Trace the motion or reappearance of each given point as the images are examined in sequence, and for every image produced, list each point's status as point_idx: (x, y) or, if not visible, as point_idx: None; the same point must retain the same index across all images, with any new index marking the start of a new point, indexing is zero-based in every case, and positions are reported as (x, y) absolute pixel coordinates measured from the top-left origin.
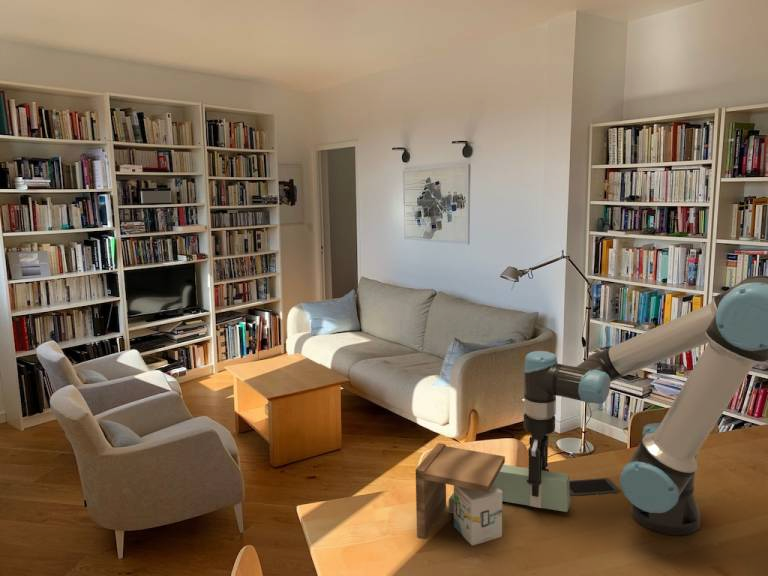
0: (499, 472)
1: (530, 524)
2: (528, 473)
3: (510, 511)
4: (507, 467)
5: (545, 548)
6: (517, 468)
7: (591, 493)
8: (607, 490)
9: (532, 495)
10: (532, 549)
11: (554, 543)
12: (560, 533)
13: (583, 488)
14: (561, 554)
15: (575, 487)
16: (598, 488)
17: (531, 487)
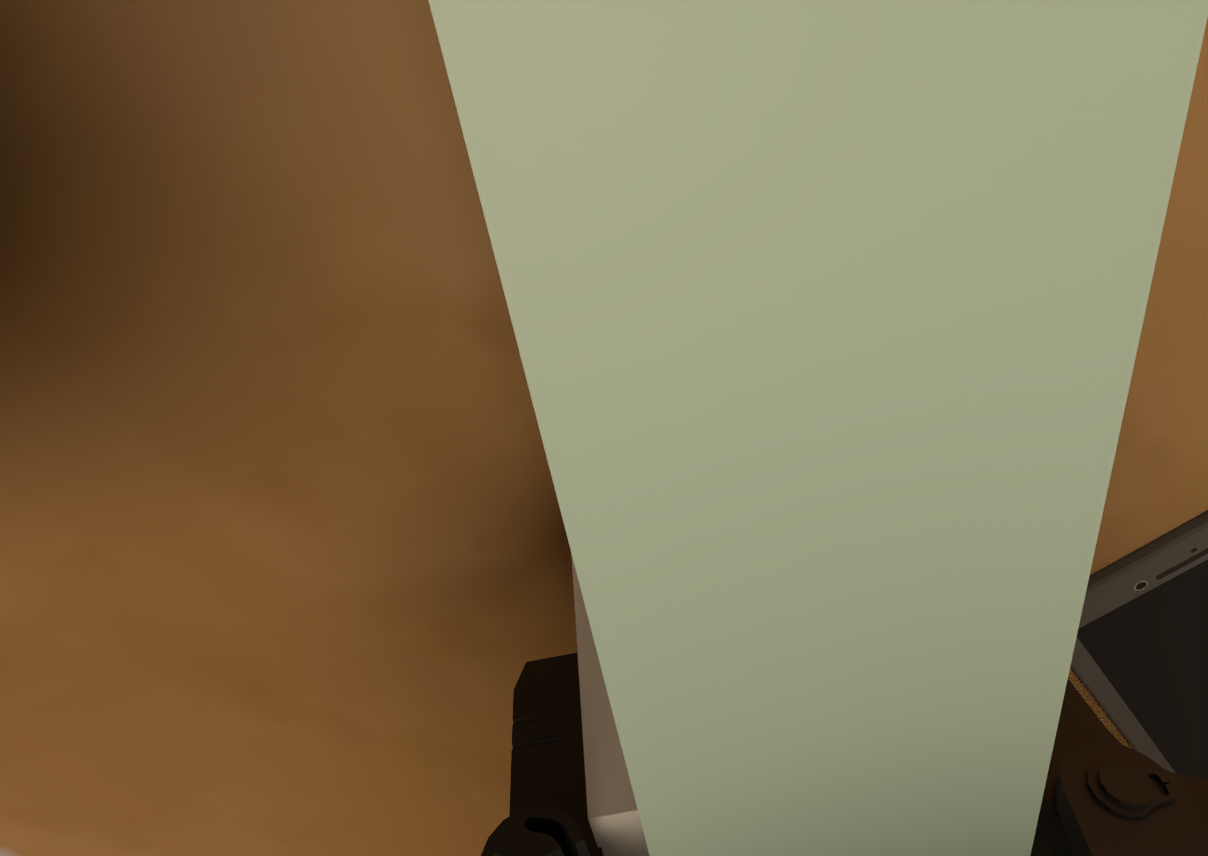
0: (456, 104)
1: (349, 540)
2: (769, 841)
3: (426, 272)
4: (972, 249)
5: (131, 734)
6: (970, 566)
7: (1107, 712)
8: (1180, 763)
9: (521, 677)
10: (19, 684)
11: (250, 750)
12: (411, 734)
13: (1183, 654)
14: (170, 812)
15: (1193, 606)
16: (1202, 721)
17: (586, 726)
